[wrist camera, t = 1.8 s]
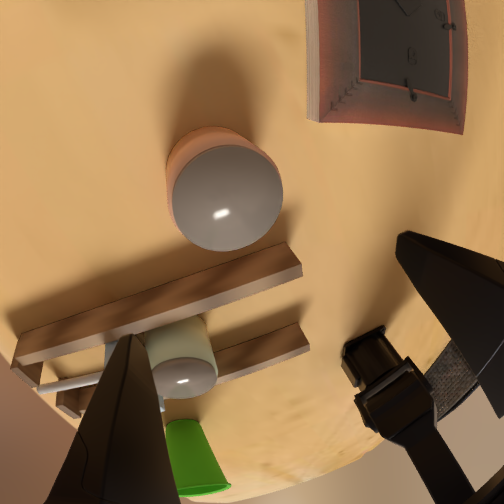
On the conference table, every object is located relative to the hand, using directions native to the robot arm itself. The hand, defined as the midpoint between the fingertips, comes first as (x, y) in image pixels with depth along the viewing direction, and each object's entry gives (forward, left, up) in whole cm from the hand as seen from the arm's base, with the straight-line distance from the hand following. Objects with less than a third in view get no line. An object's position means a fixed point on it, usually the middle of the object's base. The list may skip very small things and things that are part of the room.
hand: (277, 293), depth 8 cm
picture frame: (-17, -11, -12) cm, 24 cm away
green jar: (+7, +13, -12) cm, 19 cm away
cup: (+15, +33, -12) cm, 38 cm away
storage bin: (-47, +65, -12) cm, 81 cm away
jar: (0, 0, -12) cm, 12 cm away
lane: (+9, +13, -12) cm, 20 cm away
